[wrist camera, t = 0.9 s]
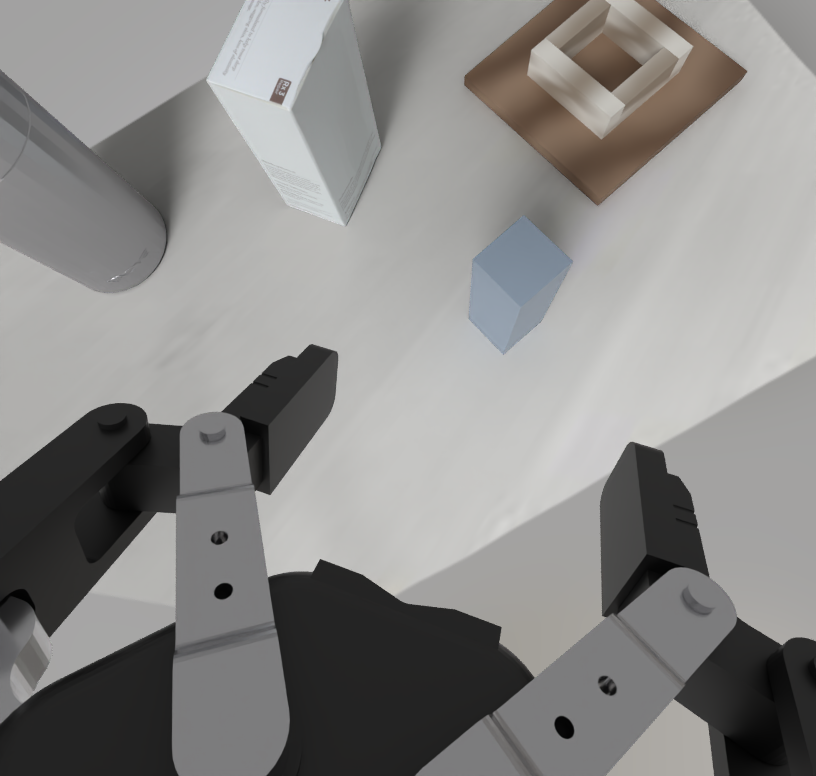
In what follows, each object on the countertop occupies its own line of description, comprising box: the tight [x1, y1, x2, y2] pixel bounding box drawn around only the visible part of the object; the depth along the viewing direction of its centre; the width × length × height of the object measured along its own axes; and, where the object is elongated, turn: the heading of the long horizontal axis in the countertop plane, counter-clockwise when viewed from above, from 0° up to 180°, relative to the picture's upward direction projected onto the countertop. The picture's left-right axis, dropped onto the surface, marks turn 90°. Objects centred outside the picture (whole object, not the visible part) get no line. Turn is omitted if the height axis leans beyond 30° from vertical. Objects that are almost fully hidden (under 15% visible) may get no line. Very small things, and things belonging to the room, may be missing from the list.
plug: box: [469, 215, 573, 355], centre depth 34 cm, size 4×4×11 cm
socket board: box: [464, 0, 747, 206], centre depth 40 cm, size 16×16×4 cm
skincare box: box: [206, 0, 381, 226], centre depth 36 cm, size 8×6×15 cm
